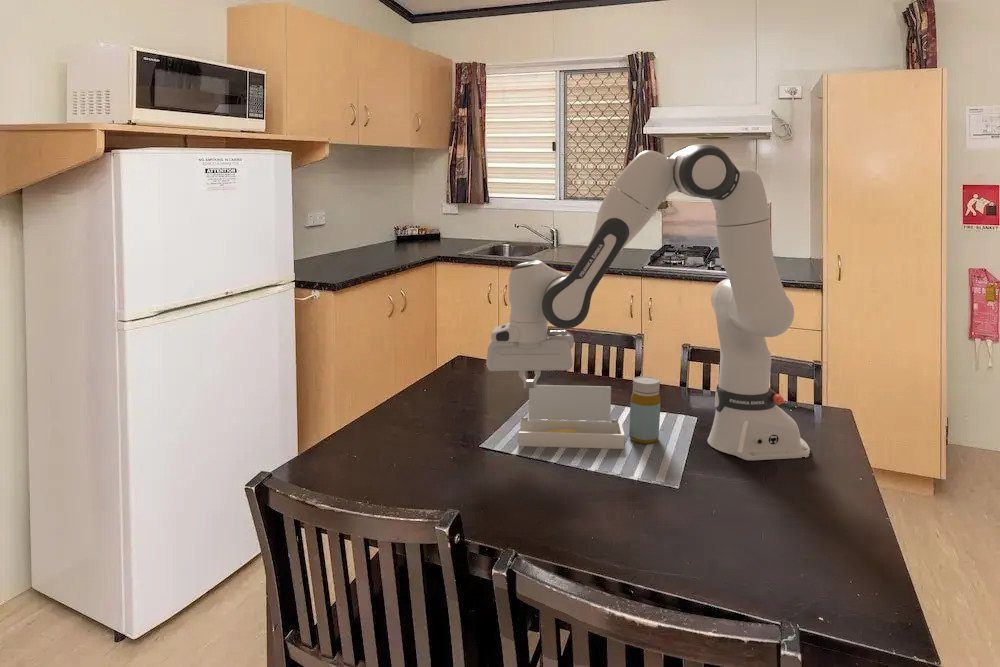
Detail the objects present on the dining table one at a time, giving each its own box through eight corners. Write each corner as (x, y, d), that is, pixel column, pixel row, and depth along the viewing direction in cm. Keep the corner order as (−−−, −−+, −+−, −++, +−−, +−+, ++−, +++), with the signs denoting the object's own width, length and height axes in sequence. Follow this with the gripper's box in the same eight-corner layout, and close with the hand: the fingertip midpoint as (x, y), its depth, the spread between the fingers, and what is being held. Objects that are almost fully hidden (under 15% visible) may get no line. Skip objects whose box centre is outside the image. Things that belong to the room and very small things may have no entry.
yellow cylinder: (574, 438, 171) (574, 426, 170) (577, 442, 168) (577, 430, 167) (545, 440, 170) (545, 428, 169) (548, 444, 167) (548, 432, 167)
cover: (610, 421, 171) (609, 420, 173) (611, 386, 171) (610, 386, 172) (528, 419, 173) (528, 418, 174) (529, 385, 172) (529, 384, 174)
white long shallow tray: (620, 434, 172) (621, 419, 172) (624, 448, 164) (624, 432, 163) (520, 432, 174) (520, 416, 174) (518, 446, 166) (518, 429, 165)
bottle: (658, 445, 166) (661, 385, 162) (628, 443, 167) (631, 383, 164) (658, 434, 172) (661, 376, 169) (629, 432, 174) (631, 375, 170)
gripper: (573, 327, 165) (574, 383, 168) (487, 328, 167) (489, 383, 170) (573, 333, 159) (574, 391, 162) (484, 334, 161) (486, 392, 164)
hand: (530, 387), depth 166 cm, fingers closed
